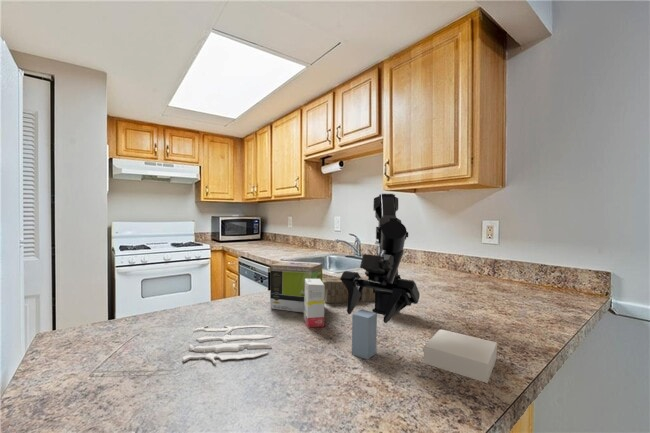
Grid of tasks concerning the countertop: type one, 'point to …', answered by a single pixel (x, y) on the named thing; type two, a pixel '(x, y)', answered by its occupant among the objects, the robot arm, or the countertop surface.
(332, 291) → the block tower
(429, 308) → the countertop surface
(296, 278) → the tea box
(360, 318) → the blue pillar
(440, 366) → the base block
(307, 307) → the ink box
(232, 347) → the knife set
